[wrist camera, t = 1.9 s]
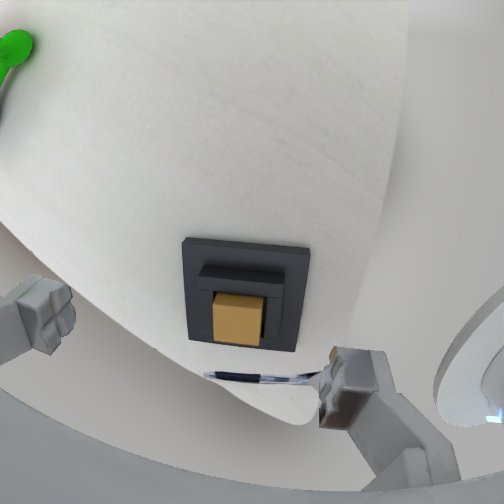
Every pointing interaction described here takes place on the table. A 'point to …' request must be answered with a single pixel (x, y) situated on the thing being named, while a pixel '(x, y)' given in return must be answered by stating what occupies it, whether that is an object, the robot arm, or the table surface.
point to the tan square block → (237, 318)
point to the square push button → (245, 287)
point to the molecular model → (13, 50)
